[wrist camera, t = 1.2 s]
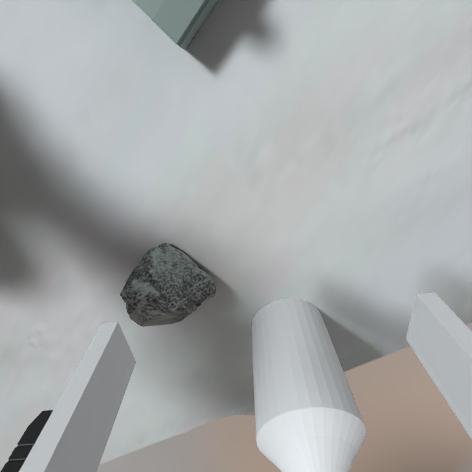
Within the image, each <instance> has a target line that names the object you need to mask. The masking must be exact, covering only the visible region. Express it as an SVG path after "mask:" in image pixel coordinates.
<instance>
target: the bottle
mask: <svg viewBox="0 0 472 472" xmlns="http://www.w3.org/2000/svg"><path fill="white" fill-rule="evenodd" d="M251 332H252V355H253V378H254V401H255V422H256V423H255V424H256V443H257V446H258V448H259V450H260V451H261V452H262V453H263V454H264V455H265V456H266V457H267V458H268V459H269V460H271V462H273V463H274V464H275V465H276V466H277V467H278V468H279V469H280V470H281V471H282V472H349V471H350V469H351V466H352V464H353V461H354V459H355V457H356V455H357V453H358V452H359V450H360V448H361V446H362V444H363V442H364V440H365V438H366V428H365V425H364V423H363V420H362V417H361V415H360V412H359V410H358V407H357V405H356V402H355V400H354V397H353V395H352V392H351V390H350V387H349V385H348V382H347V379H346V377H345V374H344V372H343V369H342V367H341V364H340V362H339V359H338V356H337V354H336V351H335V349H334V346H333V344H332V341H331V339H330V336H329V334H328V331H327V328H326V326H325V323H324V321H323V318H322V316H321V313H320V312H319V310H318V309H317V308H316V307H315V306H314V305H312V304H310V303H308V302H306V301H303V300H300V299H281V300H277V301H274V302H271V303H269V304H267V305H265V306H264V307H262V308H261V309H260V310H259V311H258V312H257V313H256V314H255V316H254V318H253V320H252V324H251Z"/></svg>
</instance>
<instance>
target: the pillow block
mask: <svg viewBox="0 0 472 472" xmlns="http://www.w3.org/2000/svg"><path fill="white" fill-rule="evenodd" d="M133 1H134V2H135V3H136V4H137V5H138V6H139V7H140V8H141V9H142V10H143V11H144V12H145V13H146V14H147V15H148V16H149V17H150V18H151V19H152V21H153V22H155V23H156V24H157V25H158V26H159V27H160V28H161V29H162V30H163V31H164V32H165V33H166V34H167V35H168V36H169V37H170V38H171V39H172V40H173V41H174V42H175V43H176V44H178V45H179V46H180V47H181V48H183V49H184V50H186V48H187V47H188V45H189V44H190V42H191V41H192V39H193V38H194V36H195V35H196V33H197V32H198V30H199V29H200V27H201V26H202V24H203V23H204V21H205V20H206V18H207V17H208V15H209V14H210V12H211V11H212V9H213V8H214V6H215V5H216V3H217V2H218V0H133Z"/></svg>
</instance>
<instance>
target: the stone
mask: <svg viewBox="0 0 472 472" xmlns="http://www.w3.org/2000/svg"><path fill="white" fill-rule="evenodd" d="M215 292H216V286H215V283H214V282H213V278H212V277H211V276H209V274H208V273H206V272H205V271H203V270H202V269H199V267H198V265H197V264H196V263H195V262H194V261H193V260H192V259H191V258H189V257H188V256H187V255H186V254H185V253H183V252H182V251H181V250H178V249H177V248H173V247H172V246H171V245H167V244H166V243H164V244H161V245H159V247H157V248H153V249H150V250H149V251H148V252H147V253H146V254H145V255H144V257H143V259H142V261H141V262H140V265H139V266H137V267H136V268H135V269H134V270H133V272H132V274H131V275H130V277H129V278H128V280H127V282H126V284H125V286H124V289H123V290H122V292H121V294H120V295H121V296H122V299H123V300H124V302H125V303H126V309H127V312H128V314H129V316H130V318H131V320H133V321H134V322H136V323H137V324H139V325H140V326H154V325H165V324H172V323H175V322H179V321H181V320H182V319H184V318H185V317H187V316H188V315H190V314H191V313H192V312H193V311H195V310H196V309H197V307H198V306H200V305H201V303H202V302H203V300H205V299H206V298H208V297H213V296H214V295H215Z"/></svg>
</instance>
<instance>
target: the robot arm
mask: <svg viewBox="0 0 472 472" xmlns="http://www.w3.org/2000/svg"><path fill="white" fill-rule="evenodd" d="M406 340H407V342H408V343H409V345H410V346H411V348H412V349H413V351H414V352H415V354H416V356H417V357H418V359H419V360H420V362H421V363H422V365H423V366H424V368H425V369H426V371H427V372H428V374H429V375H430V377H431V378H432V380H433V381H434V383H435V384H436V386H437V387H438V389H439V391H440V392H441V393H442V395H443V397H444V398H445V400H446V401H447V402H448V404H449V406H450V407H451V409H452V410H453V412H454V413H455V415H456V416H457V418H458V420H459V421H460V423H461V424H462V425H463V427H464V429H465V430H466V432H467V433H468V435H469V436H470V438H471V439H472V331H471V330H470V329H469V328H468V327H467V326H466V325H465V324H464V323H463V322H462V321H461V320H460V319H459V317H458V316H457V315H456V314H455V313H454V312H453V311H452V310H451V309H450V308H449V307H448V306H447V305H446V304H445V303H444V302H443V300H442V299H441V298H440V297H439V296H438V295H437V294H436V293H435V292H433V293H422V294H416V297H415V301H414V306H413V310H412V314H411V319H410V323H409V328H408V332H407V336H406ZM135 363H136V361H135V359H134V357H133V354H132V352H131V350H130V348H129V345H128V343H127V341H126V339H125V336H124V334H123V332H122V330H121V327H120V325H119V323H118V322H112V323H102V324H101V326H100V328H99V329H98V331H97V333H96V335H95V337H94V338H93V340H92V342H91V344H90V346H89V347H88V349H87V351H86V353H85V354H84V356H83V358H82V360H81V362H80V363H79V365H78V367H77V369H76V371H75V372H74V374H73V376H72V378H71V380H70V381H69V383H68V385H67V387H66V388H65V390H64V392H63V394H62V396H61V397H60V399H59V401H58V403H57V405H56V406H55V408H54V410H49V411H42V412H41V413H40V414H39V415H38V416H37V418H36V419H35V420H34V421H33V422H32V423H31V424H30V425H29V426H28V428H27V429H26V431H25V432H24V434H23V436H22V437H21V439H20V441H19V442H18V446H17V447H16V448H15V449H14V451H13V452H12V454H11V456H10V457H9V461H8V462H7V463H6V464H5V466H4V467H3V469H2V470H1V472H96V471H97V468H98V466H99V463H100V460H101V457H102V455H103V452H104V449H105V446H106V444H107V441H108V438H109V435H110V432H111V430H112V427H113V424H114V421H115V419H116V416H117V413H118V410H119V407H120V405H121V402H122V399H123V396H124V394H125V391H126V388H127V385H128V382H129V380H130V377H131V374H132V371H133V369H134V366H135Z"/></svg>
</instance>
